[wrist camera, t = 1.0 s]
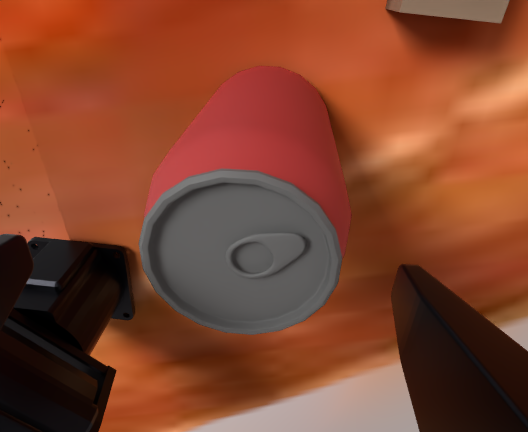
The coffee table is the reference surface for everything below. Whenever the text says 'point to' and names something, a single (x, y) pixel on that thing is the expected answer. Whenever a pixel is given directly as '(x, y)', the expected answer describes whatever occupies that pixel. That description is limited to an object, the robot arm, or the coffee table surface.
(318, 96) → the beer can
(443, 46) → the coffee table surface
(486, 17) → the metal block
